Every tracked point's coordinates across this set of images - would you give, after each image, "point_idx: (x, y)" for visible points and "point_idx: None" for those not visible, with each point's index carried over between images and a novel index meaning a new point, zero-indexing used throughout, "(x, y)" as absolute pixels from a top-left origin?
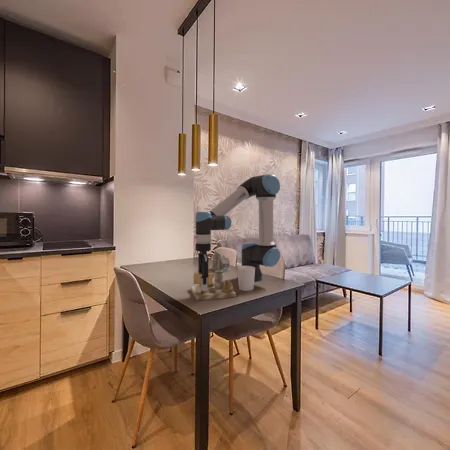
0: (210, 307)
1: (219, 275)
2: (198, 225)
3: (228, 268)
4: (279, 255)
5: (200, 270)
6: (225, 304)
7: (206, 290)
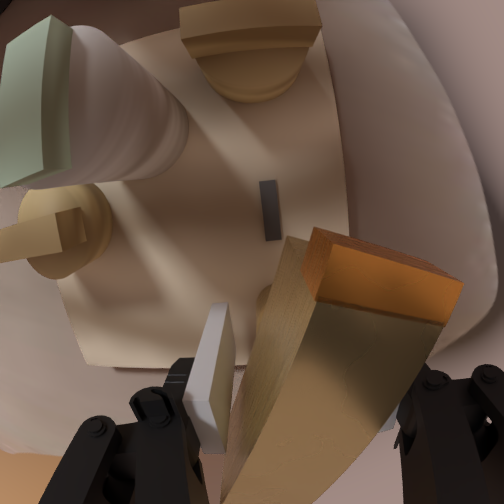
0: (466, 256)
1: (125, 94)
2: None
3: None
4: None
5: (205, 502)
6: (449, 151)
7: None
